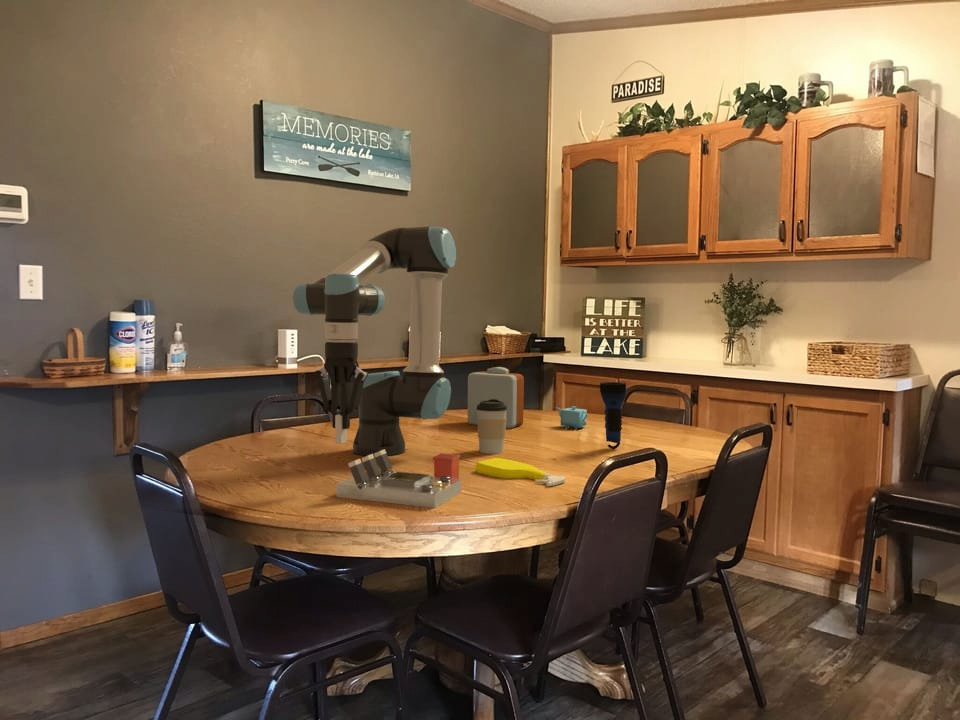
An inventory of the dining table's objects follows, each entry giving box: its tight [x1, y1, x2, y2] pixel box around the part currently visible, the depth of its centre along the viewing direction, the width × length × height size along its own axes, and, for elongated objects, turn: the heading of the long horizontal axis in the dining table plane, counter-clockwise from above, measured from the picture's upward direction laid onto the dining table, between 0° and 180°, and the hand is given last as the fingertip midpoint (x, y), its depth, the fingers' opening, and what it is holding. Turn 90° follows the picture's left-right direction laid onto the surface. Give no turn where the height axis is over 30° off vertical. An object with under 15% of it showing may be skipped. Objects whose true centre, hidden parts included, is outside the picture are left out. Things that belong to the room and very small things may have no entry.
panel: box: [335, 469, 462, 509], centre depth 177 cm, size 24×15×4 cm, turn 69°
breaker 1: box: [347, 458, 368, 484], centre depth 174 cm, size 2×2×5 cm
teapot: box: [556, 406, 588, 430], centre depth 273 cm, size 12×6×8 cm, turn 60°
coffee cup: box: [477, 399, 507, 455], centre depth 228 cm, size 9×9×15 cm
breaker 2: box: [360, 454, 381, 479], centre depth 179 cm, size 2×2×5 cm
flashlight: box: [599, 381, 627, 450], centre depth 234 cm, size 8×8×20 cm
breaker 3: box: [374, 449, 393, 473], centre depth 185 cm, size 2×2×5 cm
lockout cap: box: [432, 452, 461, 479], centre depth 187 cm, size 5×5×7 cm
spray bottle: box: [475, 457, 566, 487], centre depth 196 cm, size 3×11×24 cm
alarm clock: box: [467, 366, 525, 429], centre depth 276 cm, size 18×9×21 cm, turn 58°
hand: (341, 442), depth 181 cm, fingers closed
